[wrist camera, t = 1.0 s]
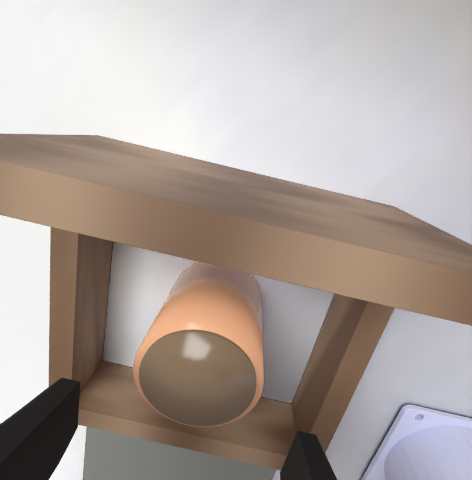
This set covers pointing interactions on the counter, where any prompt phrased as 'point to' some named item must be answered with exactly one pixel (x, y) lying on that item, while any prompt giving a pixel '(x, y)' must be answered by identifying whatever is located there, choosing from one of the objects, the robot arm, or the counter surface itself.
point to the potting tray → (228, 256)
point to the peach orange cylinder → (204, 349)
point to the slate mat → (158, 461)
